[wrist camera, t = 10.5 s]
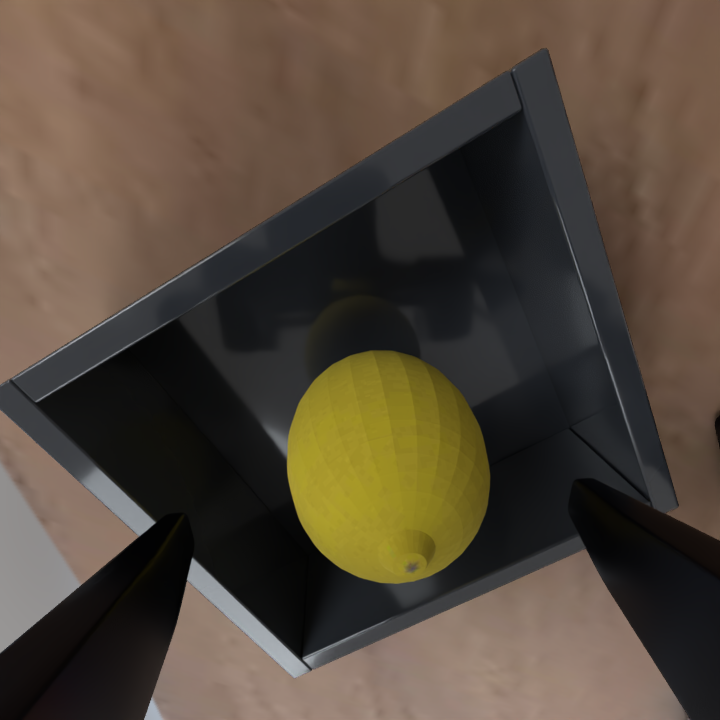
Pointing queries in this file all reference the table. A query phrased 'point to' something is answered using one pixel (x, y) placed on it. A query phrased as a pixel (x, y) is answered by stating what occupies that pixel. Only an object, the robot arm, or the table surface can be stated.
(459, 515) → the lemon
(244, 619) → the open storage bin
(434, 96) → the table surface
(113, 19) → the table surface
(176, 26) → the table surface
